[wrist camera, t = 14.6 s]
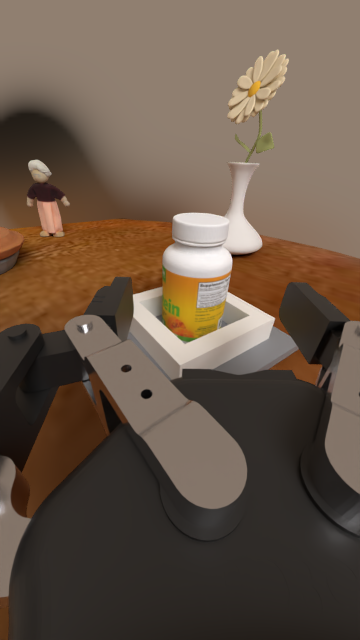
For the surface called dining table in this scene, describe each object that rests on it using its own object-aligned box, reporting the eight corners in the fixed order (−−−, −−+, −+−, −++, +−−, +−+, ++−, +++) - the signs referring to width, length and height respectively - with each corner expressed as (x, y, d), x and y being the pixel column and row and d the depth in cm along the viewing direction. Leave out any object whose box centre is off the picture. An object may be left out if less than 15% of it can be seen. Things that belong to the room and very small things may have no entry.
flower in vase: (193, 241, 48) (206, 67, 34) (245, 240, 50) (278, 75, 36) (211, 265, 38) (239, 28, 24) (276, 263, 40) (339, 42, 25)
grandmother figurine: (32, 238, 45) (8, 159, 38) (36, 233, 48) (15, 158, 41) (75, 237, 47) (59, 161, 40) (76, 232, 50) (62, 160, 43)
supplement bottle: (153, 320, 23) (150, 212, 17) (200, 309, 25) (212, 209, 19) (177, 355, 19) (184, 230, 13) (231, 338, 21) (256, 224, 16)
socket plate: (93, 322, 24) (87, 295, 22) (200, 289, 31) (202, 267, 29) (170, 432, 14) (171, 402, 13) (298, 349, 21) (309, 322, 20)
